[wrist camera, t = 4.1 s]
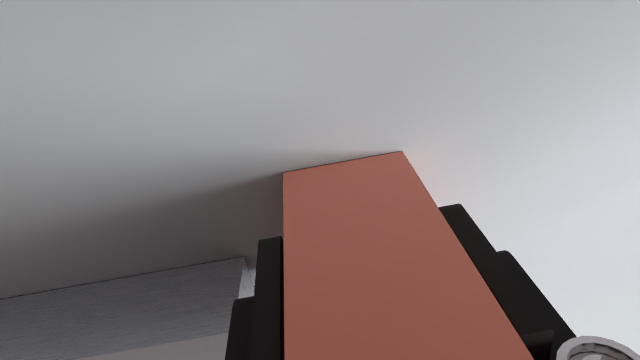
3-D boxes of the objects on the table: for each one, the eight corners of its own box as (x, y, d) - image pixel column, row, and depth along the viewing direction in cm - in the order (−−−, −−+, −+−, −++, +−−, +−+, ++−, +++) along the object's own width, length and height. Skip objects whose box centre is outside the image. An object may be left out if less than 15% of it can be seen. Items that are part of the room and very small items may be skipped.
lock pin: (282, 172, 12) (287, 796, 3) (402, 151, 12) (757, 713, 3) (304, 266, 13) (348, 855, 5) (409, 247, 13) (655, 799, 5)
